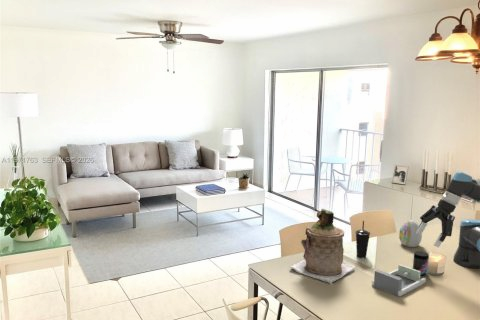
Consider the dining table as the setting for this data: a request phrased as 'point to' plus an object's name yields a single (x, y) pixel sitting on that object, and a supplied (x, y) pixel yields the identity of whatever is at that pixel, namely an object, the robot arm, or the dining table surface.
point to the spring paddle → (409, 272)
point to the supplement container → (421, 262)
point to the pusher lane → (395, 282)
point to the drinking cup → (362, 242)
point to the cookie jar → (323, 250)
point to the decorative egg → (410, 234)
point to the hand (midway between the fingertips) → (426, 240)
